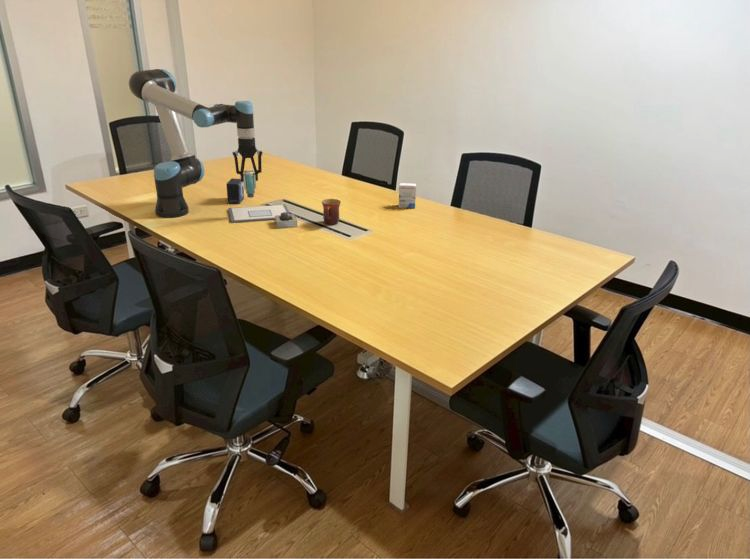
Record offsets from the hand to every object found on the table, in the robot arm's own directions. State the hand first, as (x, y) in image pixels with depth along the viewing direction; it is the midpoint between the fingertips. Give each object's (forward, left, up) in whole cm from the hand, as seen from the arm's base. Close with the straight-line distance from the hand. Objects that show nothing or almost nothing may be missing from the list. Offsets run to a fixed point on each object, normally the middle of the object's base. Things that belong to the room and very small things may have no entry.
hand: (250, 187), depth 264 cm
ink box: (+78, -2, -14) cm, 79 cm away
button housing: (+14, -15, -14) cm, 25 cm away
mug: (+34, -19, -14) cm, 41 cm away
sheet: (+4, +2, -14) cm, 15 cm away
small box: (-5, +26, -14) cm, 30 cm away
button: (+14, -15, -12) cm, 24 cm away
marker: (0, 0, -4) cm, 4 cm away
